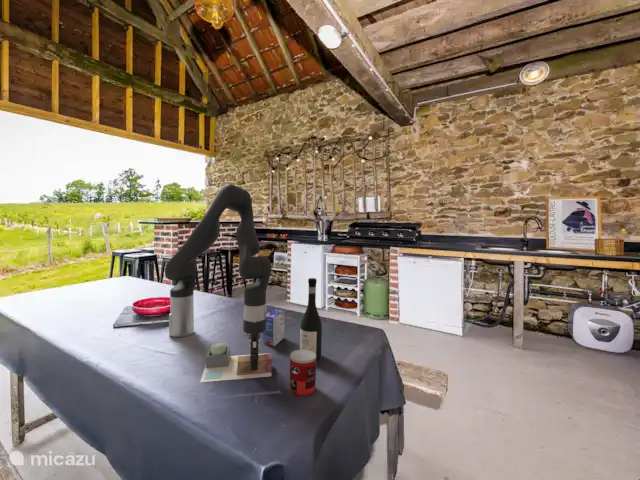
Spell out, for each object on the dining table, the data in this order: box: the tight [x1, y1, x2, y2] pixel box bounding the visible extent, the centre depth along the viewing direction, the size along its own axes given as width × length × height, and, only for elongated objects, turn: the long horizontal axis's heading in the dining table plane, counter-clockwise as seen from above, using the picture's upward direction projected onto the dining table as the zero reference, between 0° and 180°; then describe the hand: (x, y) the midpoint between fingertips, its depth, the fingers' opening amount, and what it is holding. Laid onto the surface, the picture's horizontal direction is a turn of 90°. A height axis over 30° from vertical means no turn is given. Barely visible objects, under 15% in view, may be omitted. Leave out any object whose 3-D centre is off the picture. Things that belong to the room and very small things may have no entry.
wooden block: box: [237, 353, 273, 374], centre depth 99 cm, size 11×4×4 cm, turn 102°
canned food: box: [289, 349, 317, 397], centre depth 89 cm, size 8×8×11 cm
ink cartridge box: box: [262, 306, 285, 347], centre depth 123 cm, size 10×6×14 cm, turn 161°
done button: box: [210, 342, 227, 355], centre depth 103 cm, size 5×5×4 cm
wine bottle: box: [299, 277, 323, 361], centre depth 109 cm, size 8×8×30 cm
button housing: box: [205, 345, 231, 368], centre depth 103 cm, size 7×7×4 cm
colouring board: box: [199, 353, 272, 383], centre depth 101 cm, size 22×16×1 cm
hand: (254, 363), depth 99 cm, fingers open, 8 cm apart
